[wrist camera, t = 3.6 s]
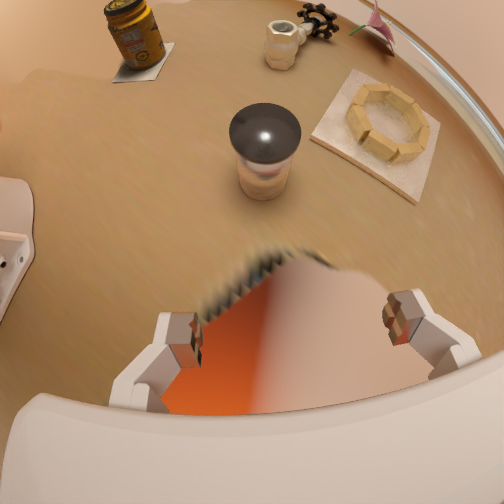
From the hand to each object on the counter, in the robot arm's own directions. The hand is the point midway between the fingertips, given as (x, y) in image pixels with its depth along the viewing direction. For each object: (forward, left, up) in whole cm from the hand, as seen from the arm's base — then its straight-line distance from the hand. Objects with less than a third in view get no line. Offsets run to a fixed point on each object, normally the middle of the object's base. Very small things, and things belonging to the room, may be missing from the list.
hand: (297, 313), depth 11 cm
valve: (+31, +14, -16) cm, 37 cm away
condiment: (+19, +32, -16) cm, 40 cm away
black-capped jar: (+10, +7, -15) cm, 20 cm away
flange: (+24, -2, -15) cm, 29 cm away
